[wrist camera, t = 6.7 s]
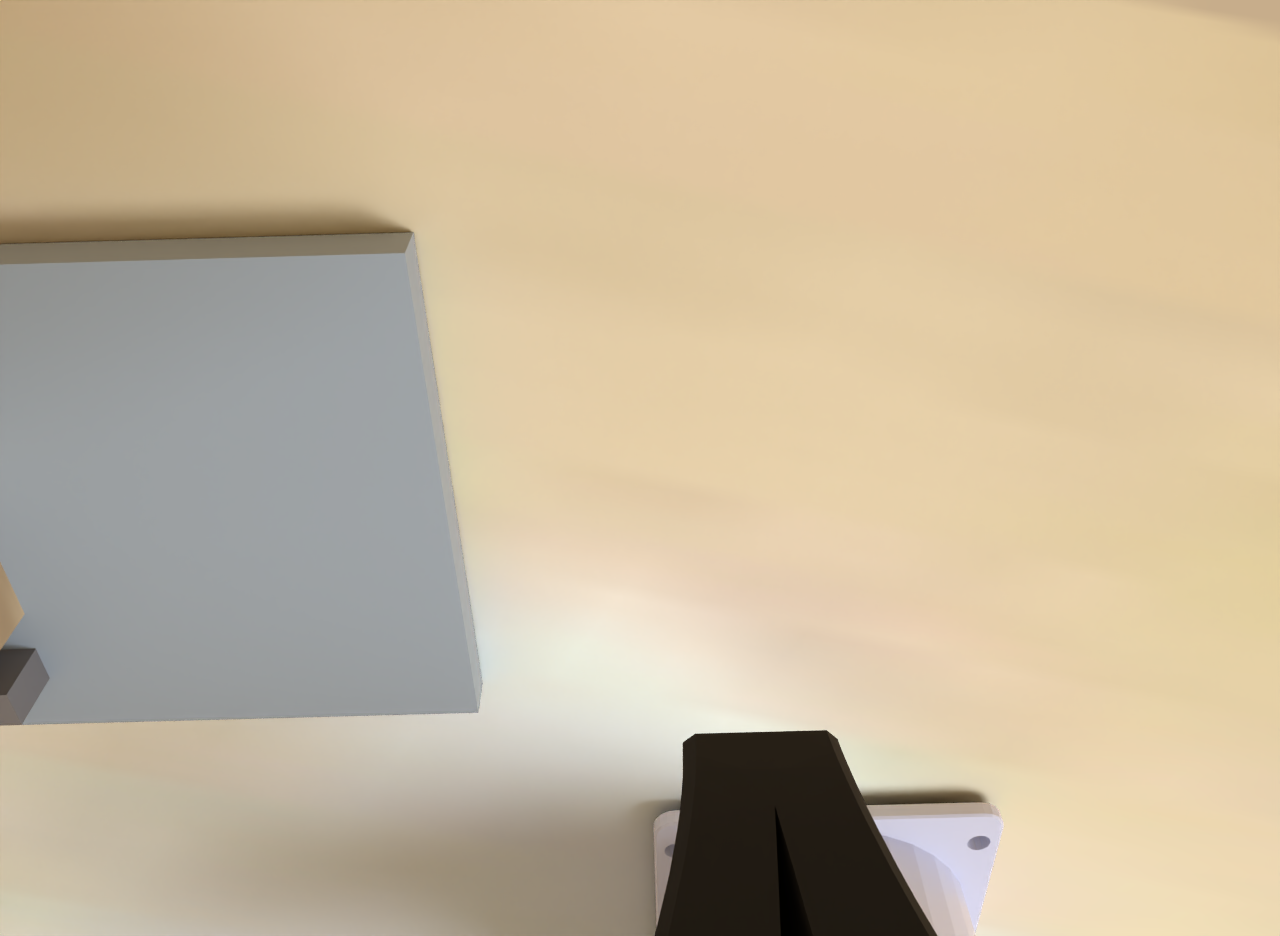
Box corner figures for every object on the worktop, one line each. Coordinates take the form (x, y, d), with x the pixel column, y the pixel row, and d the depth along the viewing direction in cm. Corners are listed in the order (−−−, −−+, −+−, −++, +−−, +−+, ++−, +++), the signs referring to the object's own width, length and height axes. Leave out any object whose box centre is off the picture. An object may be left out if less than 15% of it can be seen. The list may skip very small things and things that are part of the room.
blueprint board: (482, 683, 23) (471, 759, 21) (-231, 702, 23) (-298, 779, 21) (413, 232, 17) (390, 287, 15) (-540, 259, 17) (-665, 317, 15)
